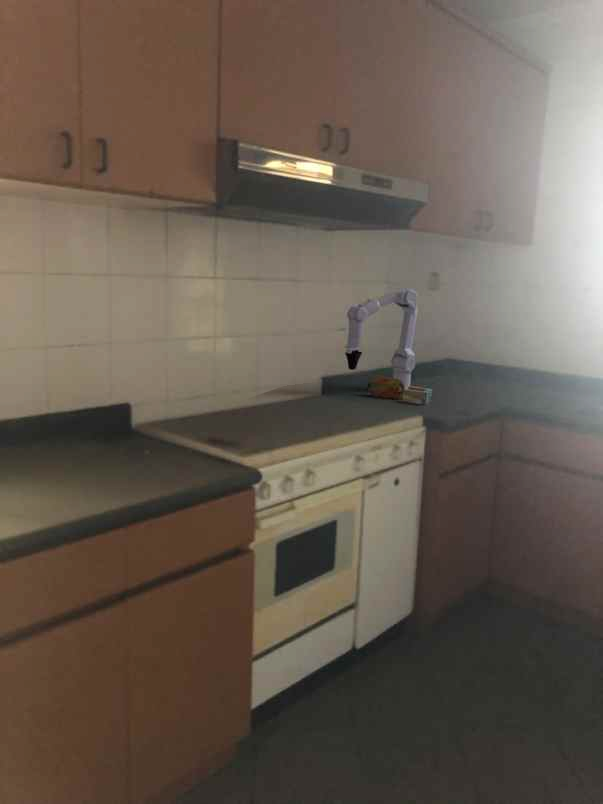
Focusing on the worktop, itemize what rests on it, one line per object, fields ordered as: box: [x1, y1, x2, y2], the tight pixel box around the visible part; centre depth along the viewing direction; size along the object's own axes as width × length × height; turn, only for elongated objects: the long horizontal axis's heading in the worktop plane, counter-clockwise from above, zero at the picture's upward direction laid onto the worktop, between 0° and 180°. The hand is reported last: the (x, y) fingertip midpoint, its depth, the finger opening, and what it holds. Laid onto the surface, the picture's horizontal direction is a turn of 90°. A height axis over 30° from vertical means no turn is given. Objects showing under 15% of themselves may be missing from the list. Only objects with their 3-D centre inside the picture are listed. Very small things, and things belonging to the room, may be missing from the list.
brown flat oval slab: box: [367, 376, 404, 400], centre depth 274 cm, size 15×3×8 cm, turn 73°
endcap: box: [402, 385, 433, 406], centre depth 270 cm, size 10×10×5 cm
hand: (352, 369), depth 274 cm, fingers closed
